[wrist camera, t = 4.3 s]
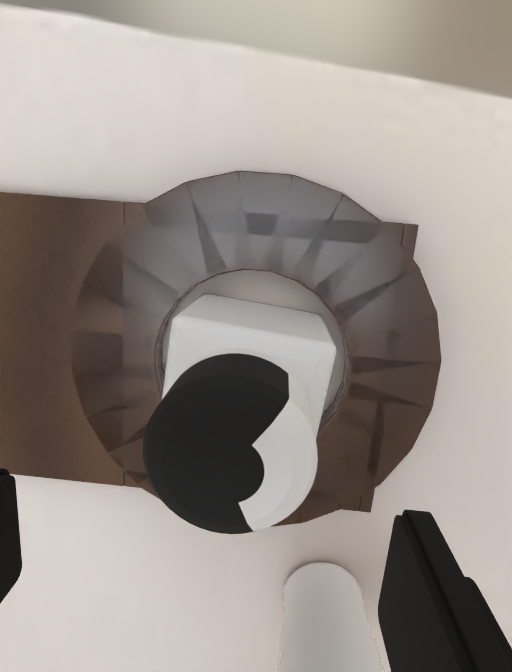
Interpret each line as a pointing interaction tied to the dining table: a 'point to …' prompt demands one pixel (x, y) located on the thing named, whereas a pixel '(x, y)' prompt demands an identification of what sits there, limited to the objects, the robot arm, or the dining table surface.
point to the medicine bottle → (239, 413)
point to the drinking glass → (326, 623)
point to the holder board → (163, 297)
